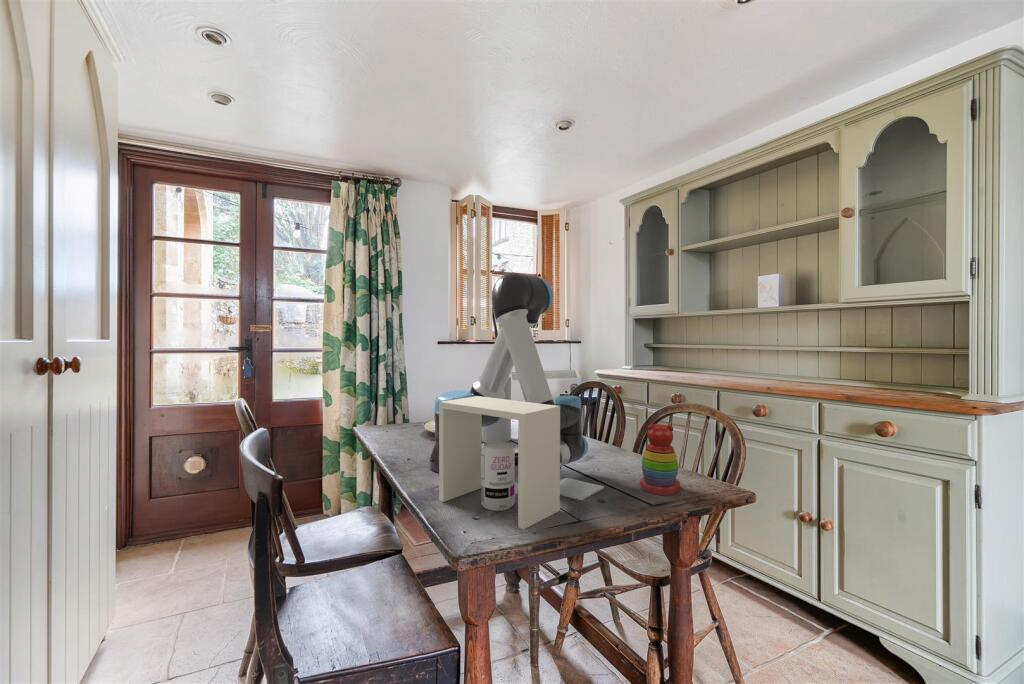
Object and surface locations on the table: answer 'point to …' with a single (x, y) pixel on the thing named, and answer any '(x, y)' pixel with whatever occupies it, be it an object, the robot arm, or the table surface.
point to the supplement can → (497, 476)
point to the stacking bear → (660, 462)
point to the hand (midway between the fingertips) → (502, 473)
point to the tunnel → (534, 452)
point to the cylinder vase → (499, 423)
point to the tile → (578, 488)
